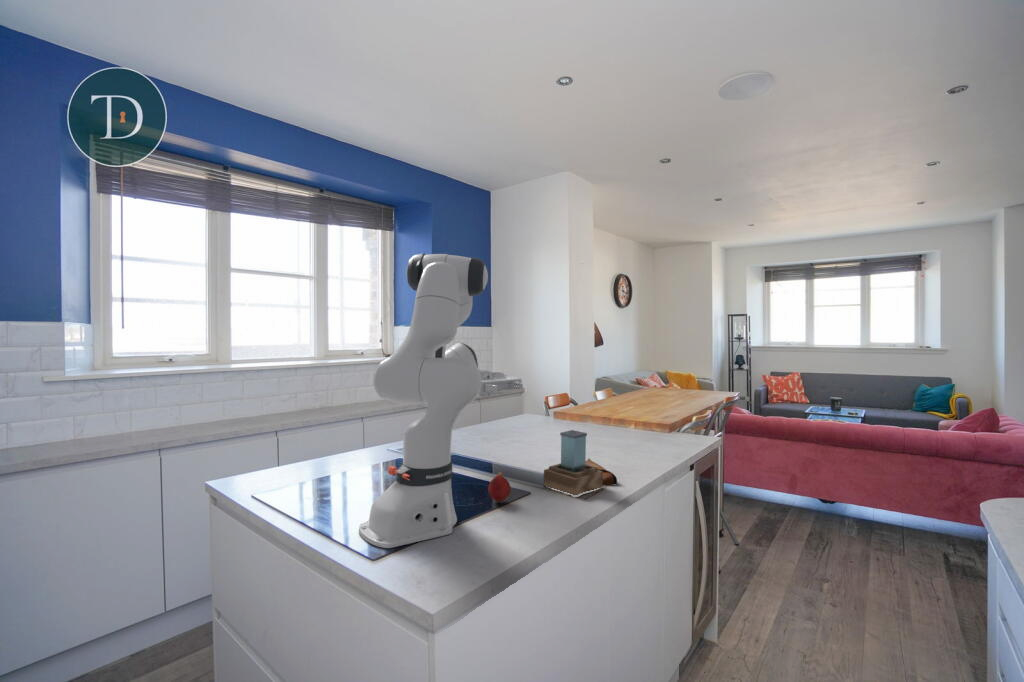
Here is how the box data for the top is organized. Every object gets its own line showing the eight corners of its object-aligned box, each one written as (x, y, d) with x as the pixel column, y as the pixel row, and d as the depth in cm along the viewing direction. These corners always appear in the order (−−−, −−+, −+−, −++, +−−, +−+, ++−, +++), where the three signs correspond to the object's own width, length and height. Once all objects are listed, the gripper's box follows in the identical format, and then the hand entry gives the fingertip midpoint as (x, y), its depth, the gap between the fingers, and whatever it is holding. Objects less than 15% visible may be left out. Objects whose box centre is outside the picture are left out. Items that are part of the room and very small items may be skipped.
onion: (496, 508, 121) (496, 477, 121) (484, 501, 125) (484, 471, 125) (514, 503, 124) (514, 473, 124) (502, 497, 129) (502, 468, 129)
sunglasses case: (567, 469, 155) (576, 451, 156) (583, 478, 157) (593, 460, 158) (592, 487, 138) (602, 466, 139) (610, 497, 140) (620, 477, 141)
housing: (574, 474, 133) (574, 435, 133) (559, 470, 137) (560, 432, 137) (586, 470, 137) (586, 433, 137) (572, 466, 141) (572, 430, 141)
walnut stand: (575, 498, 129) (575, 476, 129) (543, 486, 138) (544, 466, 138) (602, 488, 137) (602, 467, 137) (570, 478, 146) (571, 459, 146)
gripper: (456, 375, 150) (484, 379, 140) (504, 372, 164) (533, 375, 153) (456, 395, 150) (483, 400, 140) (504, 390, 164) (532, 394, 154)
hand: (510, 387), depth 147 cm, fingers open, 8 cm apart
